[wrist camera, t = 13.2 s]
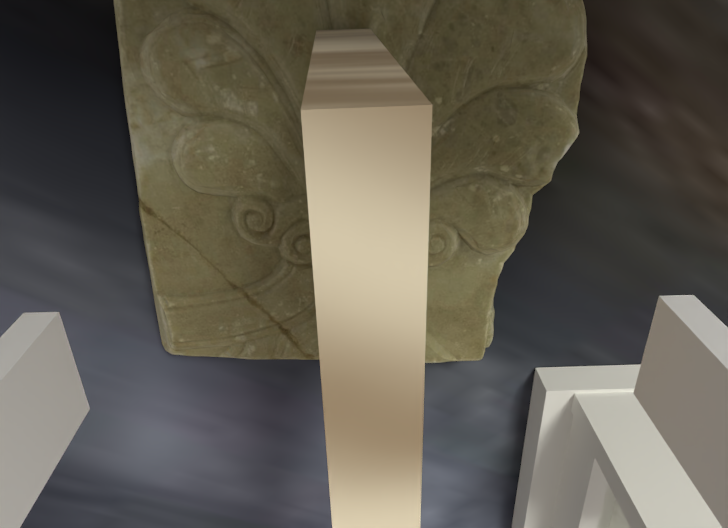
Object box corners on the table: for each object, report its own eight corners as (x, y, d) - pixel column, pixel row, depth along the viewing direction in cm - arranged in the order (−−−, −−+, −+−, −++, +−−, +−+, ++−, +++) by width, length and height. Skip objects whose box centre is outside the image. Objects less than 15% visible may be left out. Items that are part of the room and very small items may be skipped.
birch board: (316, 30, 21) (300, 109, 8) (370, 28, 21) (432, 104, 9) (332, 306, 26) (338, 601, 14) (375, 304, 26) (418, 595, 14)
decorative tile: (173, 328, 31) (153, 368, 28) (124, -103, 22) (86, -116, 19) (507, 340, 32) (524, 380, 29) (593, -69, 23) (633, -76, 20)
